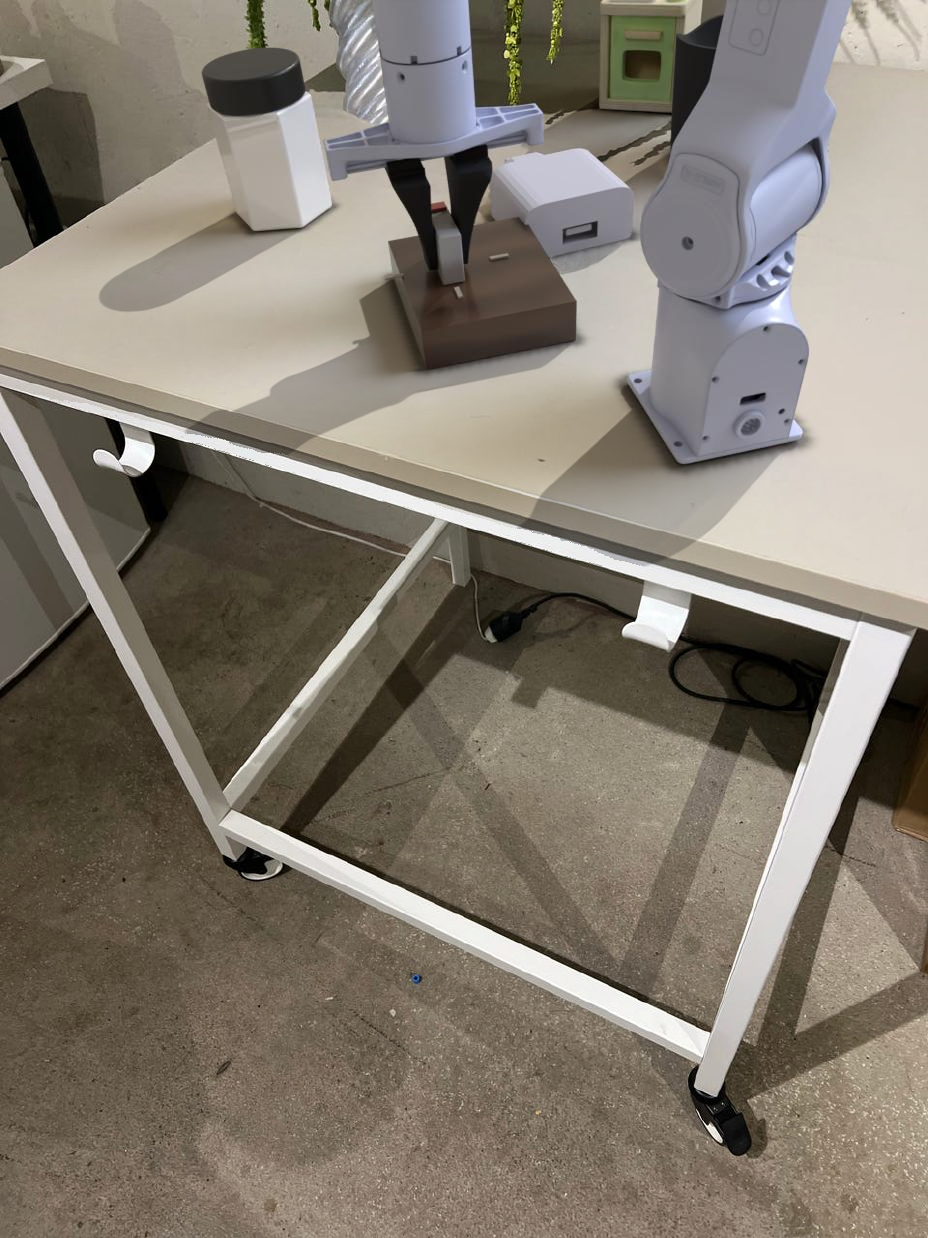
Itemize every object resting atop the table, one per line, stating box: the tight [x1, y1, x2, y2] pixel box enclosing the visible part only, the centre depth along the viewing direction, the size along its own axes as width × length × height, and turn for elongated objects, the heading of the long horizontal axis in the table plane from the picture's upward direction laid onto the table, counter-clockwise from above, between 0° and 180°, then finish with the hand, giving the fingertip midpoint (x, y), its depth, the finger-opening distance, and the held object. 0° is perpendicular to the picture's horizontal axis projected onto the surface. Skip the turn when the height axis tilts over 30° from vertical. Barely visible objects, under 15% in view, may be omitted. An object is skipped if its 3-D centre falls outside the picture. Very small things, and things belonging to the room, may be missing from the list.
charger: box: [489, 147, 635, 258], centre depth 74 cm, size 5×9×15 cm
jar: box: [201, 47, 333, 232], centre depth 75 cm, size 9×8×12 cm
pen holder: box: [669, 13, 724, 154], centre depth 76 cm, size 9×9×10 cm
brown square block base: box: [384, 217, 578, 370], centre depth 65 cm, size 14×12×3 cm
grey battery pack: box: [431, 201, 465, 285], centre depth 63 cm, size 5×2×4 cm, turn 13°
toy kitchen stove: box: [598, 0, 703, 114], centre depth 85 cm, size 8×7×13 cm
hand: (446, 261), depth 64 cm, fingers closed on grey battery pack, 2 cm apart
